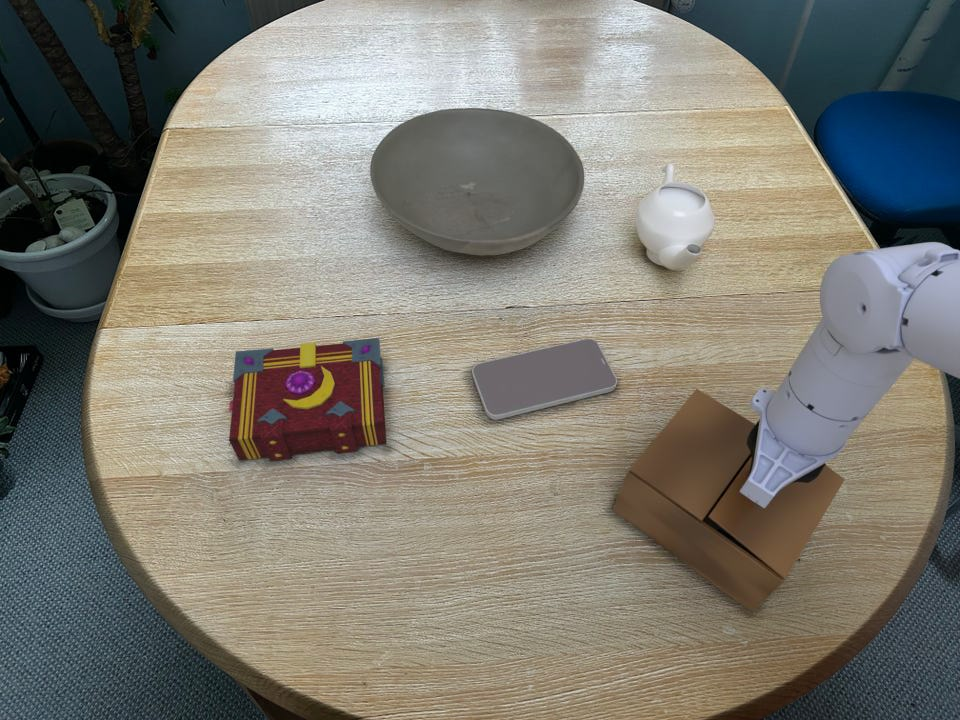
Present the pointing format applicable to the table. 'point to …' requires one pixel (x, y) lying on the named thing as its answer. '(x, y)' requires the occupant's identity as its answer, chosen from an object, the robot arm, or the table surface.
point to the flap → (777, 517)
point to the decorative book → (307, 400)
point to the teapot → (674, 222)
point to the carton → (696, 496)
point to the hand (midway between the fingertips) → (762, 481)
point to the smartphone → (543, 378)
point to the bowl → (477, 179)
